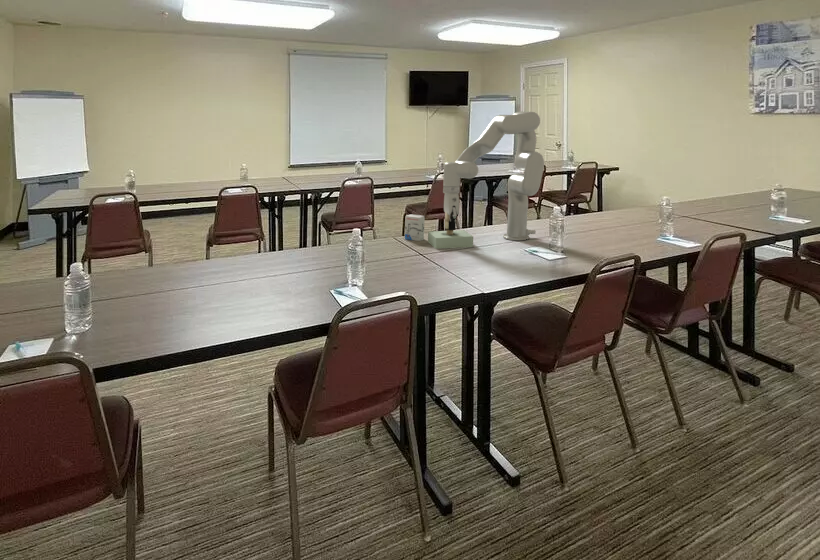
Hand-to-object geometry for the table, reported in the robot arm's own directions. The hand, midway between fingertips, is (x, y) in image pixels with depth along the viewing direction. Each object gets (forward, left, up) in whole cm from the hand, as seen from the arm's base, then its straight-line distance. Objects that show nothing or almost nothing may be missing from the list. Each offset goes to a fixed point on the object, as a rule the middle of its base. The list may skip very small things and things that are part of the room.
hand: (450, 228), depth 256 cm
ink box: (+14, -14, -8) cm, 21 cm away
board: (0, 0, -8) cm, 8 cm away
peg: (0, 0, -4) cm, 4 cm away
